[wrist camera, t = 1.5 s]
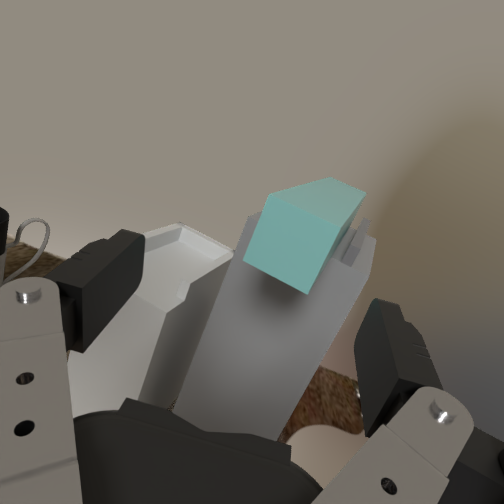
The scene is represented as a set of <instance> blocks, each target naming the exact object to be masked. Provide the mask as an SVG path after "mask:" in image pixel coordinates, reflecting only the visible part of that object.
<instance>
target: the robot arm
mask: <svg viewBox="0 0 504 504" xmlns="http://www.w3.org/2000/svg"><path fill="white" fill-rule="evenodd" d="M144 253H145V236H144V235H143V234H139V233H136V232H132V231H128V230H124V229H121V230H120V231H118V232H117V233H116V234H115V235H114V236H112V237H111V238H110V239H108V240H107V239H100V240H97V241H95V242H92V243H89V244H87V245H86V246H85V247H84V248H82V249H81V250H80V251H79V252H77V253H75V254H74V255H73V256H71V258H68V259H67V260H66V261H64V262H63V263H62V264H60V265H59V266H58V267H56V268H55V269H54V270H52V271H51V272H50V273H48V274H47V275H45V276H44V277H43V278H41V277H26V278H20V279H16V280H13V281H10V282H8V283H6V284H4V285H3V286H2V287H1V288H0V504H504V442H502V441H500V440H498V439H496V438H494V437H493V436H491V435H489V434H486V433H485V432H483V431H481V430H479V429H478V428H476V427H474V423H473V420H472V417H471V415H470V414H469V412H468V411H467V409H466V408H465V407H464V406H463V405H462V404H461V403H460V402H459V401H458V400H457V399H456V398H454V397H453V396H451V395H450V394H448V393H447V392H445V391H444V390H443V388H442V385H441V383H440V380H439V378H438V375H437V373H436V370H435V368H434V365H433V363H432V360H431V359H430V355H429V353H428V350H427V349H426V345H425V343H424V340H423V338H422V335H421V334H420V333H419V332H418V330H417V329H416V328H415V327H414V326H413V325H412V324H411V323H409V322H406V321H405V320H404V317H403V315H402V312H401V309H400V307H399V305H398V304H395V303H391V302H388V301H385V300H381V299H377V298H375V299H374V300H373V301H372V302H371V304H370V307H369V309H368V311H367V313H366V315H365V318H364V320H363V322H362V324H361V326H360V329H359V331H358V333H357V335H356V339H355V344H354V355H355V362H356V370H357V377H358V385H359V392H360V400H361V407H362V415H363V422H364V430H365V437H368V438H370V439H369V440H368V441H367V442H366V443H365V444H364V445H363V446H362V448H361V449H360V450H359V451H358V452H357V453H356V454H355V455H354V456H353V457H352V459H351V460H350V461H349V462H348V463H347V464H346V465H345V466H344V467H343V469H342V470H341V471H340V472H339V473H338V474H337V475H336V476H335V478H334V479H333V480H332V481H331V482H330V483H329V484H328V485H327V486H326V488H325V489H324V490H323V488H322V487H321V486H320V485H319V484H318V483H317V482H316V481H315V480H314V478H312V477H311V476H310V475H309V474H308V473H307V472H306V471H305V470H303V469H302V468H300V467H299V466H298V465H297V464H295V463H293V462H291V461H290V459H291V445H287V444H284V443H280V442H277V441H274V440H270V439H267V438H263V437H260V436H257V435H253V434H248V433H225V432H207V431H203V430H201V429H199V428H198V427H196V426H194V425H193V424H191V423H189V422H188V421H186V420H184V419H182V418H181V417H179V416H177V415H176V414H174V413H172V412H171V411H169V410H167V409H165V408H161V407H158V406H155V405H151V404H148V403H144V402H141V401H138V400H134V399H131V398H127V397H126V398H125V400H124V402H123V403H122V405H121V407H120V408H119V410H104V411H97V412H91V413H87V414H84V415H80V416H77V417H75V418H73V414H72V404H71V395H70V385H69V375H68V366H67V356H66V352H67V351H68V350H72V351H76V352H79V353H84V352H85V351H86V350H87V349H88V347H89V346H90V345H91V344H92V343H93V341H94V340H95V339H96V338H97V337H98V335H99V334H100V333H101V332H102V331H103V329H104V328H105V327H106V326H107V325H108V324H109V322H110V321H111V320H112V319H113V318H114V316H115V315H116V314H117V313H118V312H119V310H120V309H121V308H122V307H123V306H124V304H125V303H126V302H127V301H128V300H129V299H130V297H131V296H132V295H133V294H134V293H135V291H136V290H137V289H138V287H139V285H140V282H141V280H142V276H143V266H144Z"/></svg>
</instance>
